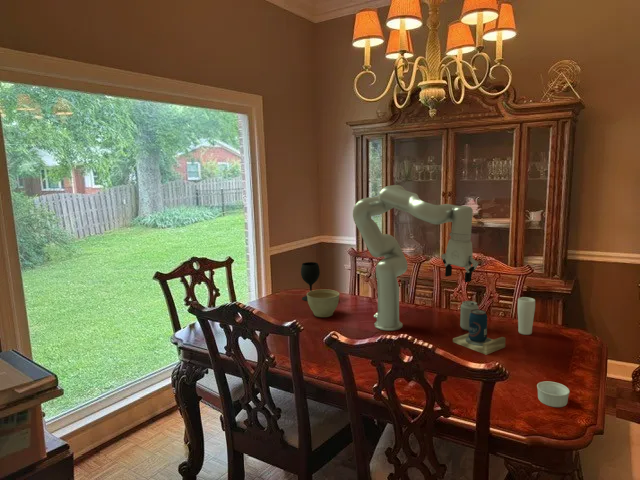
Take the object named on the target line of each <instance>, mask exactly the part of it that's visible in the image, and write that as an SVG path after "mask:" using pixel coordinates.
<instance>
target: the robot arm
mask: <svg viewBox="0 0 640 480" xmlns="http://www.w3.org/2000/svg"><path fill="white" fill-rule="evenodd" d="M392 209H396V210H400V211H402V212H405V213H409V214H410V215H411V216H412V217H414V218H416V219H418V220H421V221H424V222H427V223H430V224H433V225H443V224H445V223H451V231H450V232H449V237H450V239H448V243H447V246H446V249H445V250H446V252H445V253H443V254H441V259H442V262H443V264H444V265H443V266H444V267H445V271H444V276H445V277H452V273H453V266H456V267H459V268H464V270H465V274H464V282H465V283H469V282H471V281H472V275H473V273H474V271H475V270H476V269H477V267H479V262H478V261H477V260H476V259H474V258H473V257H474V256H473V255H474V253H473V242H472V240H471V238H472V227H473V226H472V225H473V215H474V209H473V207H472V206H466V205H456V204H452V203H451V204H450V203H443V204H438V205H437V204H434V203H429V202H428V201H427V202H426V201H424V200H422V199H420V198H419V195H418V194H417V193H416V192H411V191H408V190H407V189H405V188H404V187H403V186H402V185H400V184H393V185H387V186H384V187H382V188H381V190H380V191H379V194H378V195H377V196H372V197H369V196H368V197H365V198H361V199H360V200H357V202H356V203H355V205H354V207H353V210H352V218H353V219H352V220H353V222H354V224H355V226H356V227H357V229H358V231H359V233H360V235H361V237H362V240H363V242H364V244H365V245H366V248H367V250H368V251H369V254H370V255H371V256H372V257H374V258H381V257H384V258H383V259H381V260H380V261H379V262H377V264H376V266H375V276H376V282H377V312H376V313H375V314H373V318H374V319H376V321H375V322H374V327H375V328H376V329H378V330H381V331H389V332H390V331H391V332H393V331H398V330H400V329H401V328H403V322H401V321H400V287H399V282H398V277H399V276H401V275H404V274H405V273H406V272H407V270H408V260H407V258H406V256H405V254H404V252H403V250H402V248H401V246H400V244H399V242H398V241H397V239H396V238H395V237H394V236H393V235H391V234H389V233H384V234H383V233H382V231H381V230H380V227H379V226H378V224H377V223H376V222H375V220H373V217H375V216H380V215H382V214H385V213H386V212H388V211H391V210H392Z"/></svg>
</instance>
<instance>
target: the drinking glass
mask: <svg viewBox="0 0 640 480" xmlns="http://www.w3.org/2000/svg"><path fill="white" fill-rule="evenodd" d="M535 312H536V299H535V298H532V297H527V296H522V297H518V298H517V327H518V328H517V329H518V333H519V334H521V335H525V336H526V335H527V336H529V335H532V333H533V327H534V326H533V324H534V319H535V318H534V317H535Z"/></svg>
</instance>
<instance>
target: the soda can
mask: <svg viewBox="0 0 640 480" xmlns="http://www.w3.org/2000/svg"><path fill="white" fill-rule="evenodd" d="M468 333H469V338H470V340H471V341H473V342H477V343H482V342H484V341H485V340H486V339H487V338H488V337H487V336H488V315H487V312H486V311H485V310H483V309H480V308H478V309H475V310H471V313H470V314H469V331H468Z"/></svg>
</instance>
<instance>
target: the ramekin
mask: <svg viewBox="0 0 640 480" xmlns="http://www.w3.org/2000/svg"><path fill="white" fill-rule="evenodd" d="M536 388H537V398H538V401H540V402H541V403H542V404H543V405H546V406H548V407H551V408H563V407H565V406H567V404H568V400H569V396H570V392H571V391H570V388H568V387H567V386H566V385H564V384H562V383H559V382H555V381H550V380H549V381H547V380H546V381H544V380H543V381H539V382H538V383H537V384H536Z"/></svg>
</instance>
